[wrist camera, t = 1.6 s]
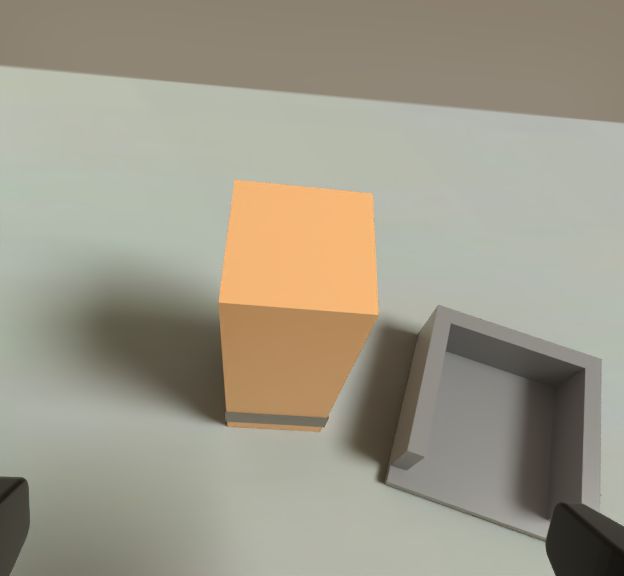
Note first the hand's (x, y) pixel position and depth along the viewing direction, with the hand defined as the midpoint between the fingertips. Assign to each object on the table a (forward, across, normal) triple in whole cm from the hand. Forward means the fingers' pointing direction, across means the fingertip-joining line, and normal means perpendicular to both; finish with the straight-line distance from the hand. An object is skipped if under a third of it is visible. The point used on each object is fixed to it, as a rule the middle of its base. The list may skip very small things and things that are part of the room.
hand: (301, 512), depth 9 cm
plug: (+14, 0, +4) cm, 15 cm away
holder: (+13, -9, +5) cm, 17 cm away
